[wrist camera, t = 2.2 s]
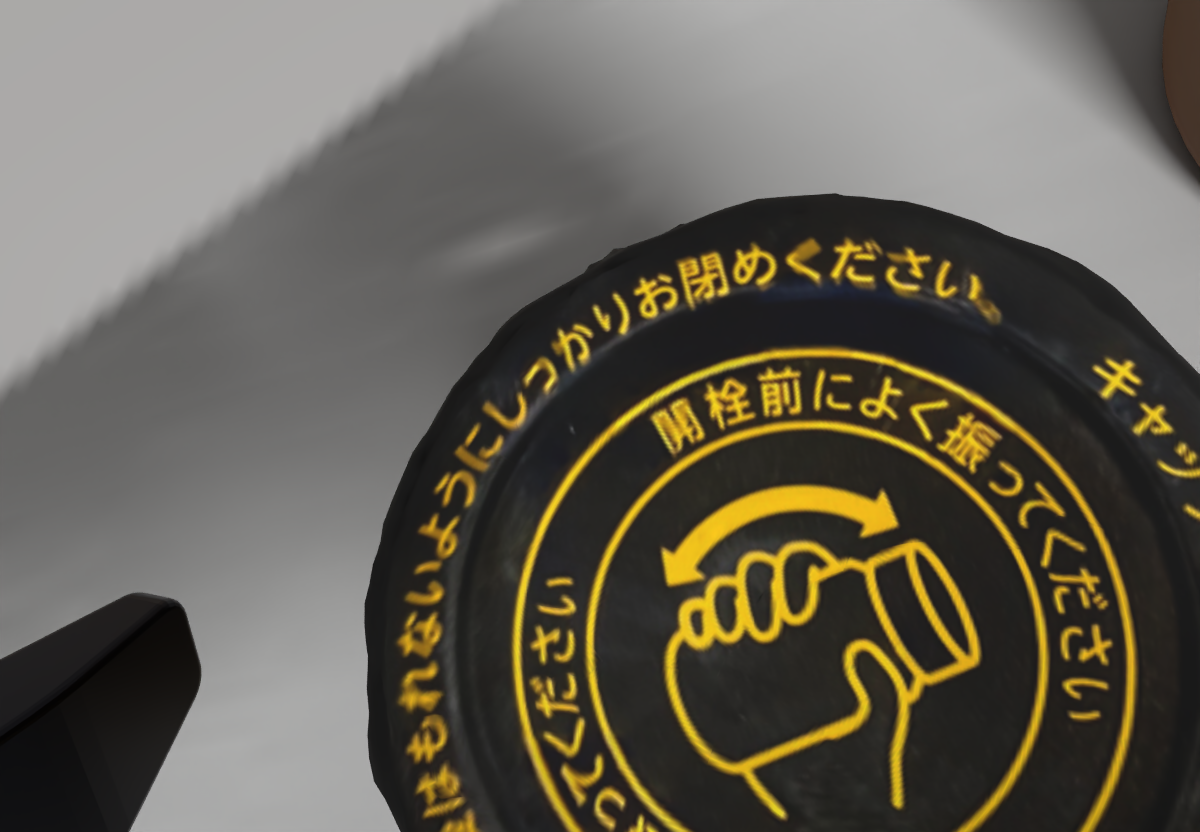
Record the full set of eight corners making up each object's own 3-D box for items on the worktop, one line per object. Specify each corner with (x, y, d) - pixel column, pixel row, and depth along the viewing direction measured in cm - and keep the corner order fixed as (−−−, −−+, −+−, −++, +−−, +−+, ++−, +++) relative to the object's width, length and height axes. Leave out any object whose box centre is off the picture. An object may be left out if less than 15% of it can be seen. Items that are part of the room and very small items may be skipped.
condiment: (921, 1002, 16) (1130, 1789, 5) (442, 688, 18) (-202, 696, 7) (1154, 553, 17) (1834, 278, 5) (663, 307, 19) (405, -247, 8)
